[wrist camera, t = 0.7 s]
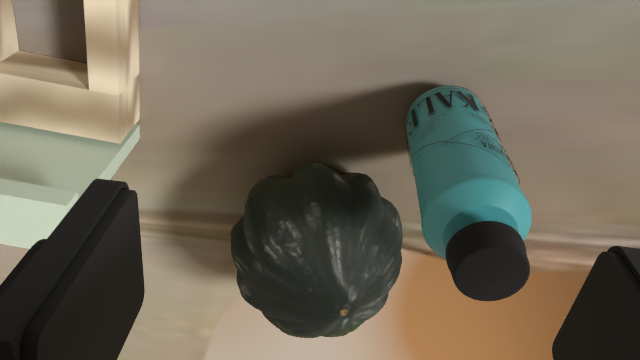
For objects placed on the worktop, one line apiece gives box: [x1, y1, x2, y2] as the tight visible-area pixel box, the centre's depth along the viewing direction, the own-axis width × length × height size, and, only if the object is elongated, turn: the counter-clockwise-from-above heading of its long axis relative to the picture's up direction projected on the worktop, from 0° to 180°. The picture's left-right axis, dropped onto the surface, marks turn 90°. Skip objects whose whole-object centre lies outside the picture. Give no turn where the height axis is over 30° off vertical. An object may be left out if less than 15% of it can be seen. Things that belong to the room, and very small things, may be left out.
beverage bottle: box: [405, 86, 532, 301], centre depth 35 cm, size 6×7×20 cm
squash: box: [231, 162, 403, 338], centre depth 45 cm, size 14×15×15 cm
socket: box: [0, 0, 140, 144], centre depth 39 cm, size 16×12×4 cm
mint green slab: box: [0, 122, 140, 249], centre depth 39 cm, size 4×14×16 cm, turn 80°
